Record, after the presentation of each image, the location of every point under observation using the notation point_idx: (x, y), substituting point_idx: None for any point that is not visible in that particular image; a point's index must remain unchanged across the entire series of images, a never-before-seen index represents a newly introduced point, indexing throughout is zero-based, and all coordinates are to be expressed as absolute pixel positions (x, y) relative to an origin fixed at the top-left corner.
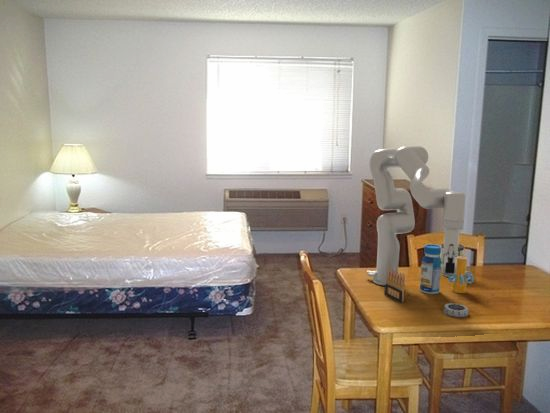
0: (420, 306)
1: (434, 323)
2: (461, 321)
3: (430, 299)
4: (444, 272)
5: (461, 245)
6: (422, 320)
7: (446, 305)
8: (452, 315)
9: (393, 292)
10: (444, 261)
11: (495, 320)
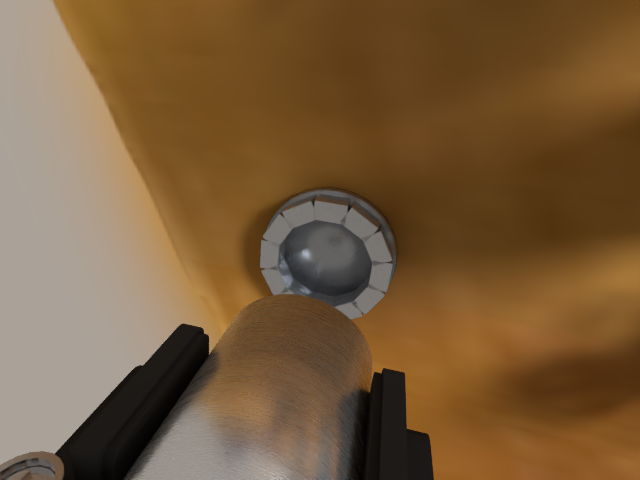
0: (392, 37)
1: (143, 116)
2: (223, 256)
3: (560, 123)
4: (256, 311)
5: None
6: (154, 46)
7: (339, 214)
8: (268, 226)
9: None
10: (208, 442)
11: None
